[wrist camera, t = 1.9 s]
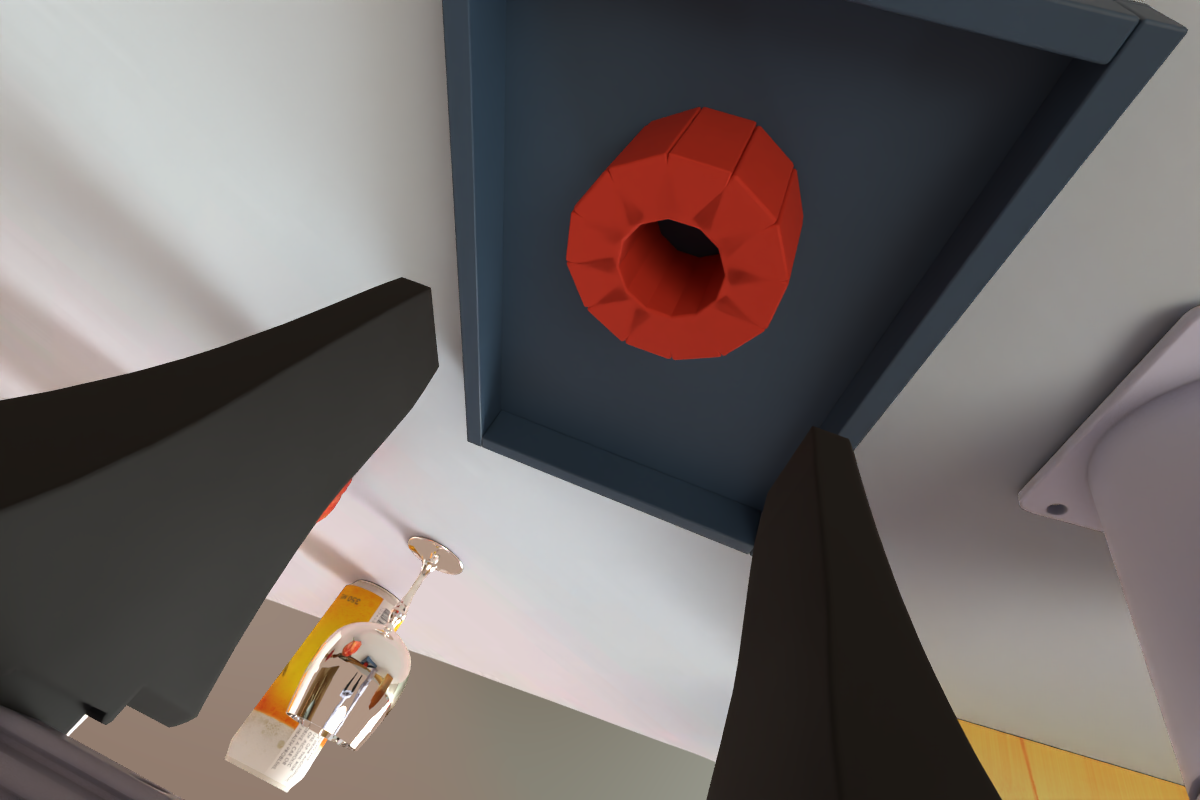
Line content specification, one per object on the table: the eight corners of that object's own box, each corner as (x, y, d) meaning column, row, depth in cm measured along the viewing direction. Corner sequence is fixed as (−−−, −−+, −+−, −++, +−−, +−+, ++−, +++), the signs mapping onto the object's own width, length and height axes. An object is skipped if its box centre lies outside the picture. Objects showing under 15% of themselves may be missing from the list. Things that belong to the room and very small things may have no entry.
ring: (838, 144, 13) (828, 201, 11) (759, 319, 17) (740, 386, 15) (628, 83, 14) (579, 126, 12) (598, 264, 18) (558, 320, 15)
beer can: (339, 576, 51) (206, 749, 41) (375, 577, 48) (240, 767, 38) (383, 612, 54) (269, 783, 44) (420, 615, 51) (305, 802, 41)
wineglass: (445, 534, 37) (321, 723, 29) (484, 583, 40) (383, 765, 32) (386, 527, 39) (258, 697, 31) (427, 573, 43) (321, 738, 35)
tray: (1147, 4, 10) (1191, 29, 9) (773, 518, 24) (765, 562, 22) (488, -150, 12) (432, -151, 10) (491, 407, 25) (467, 441, 24)
